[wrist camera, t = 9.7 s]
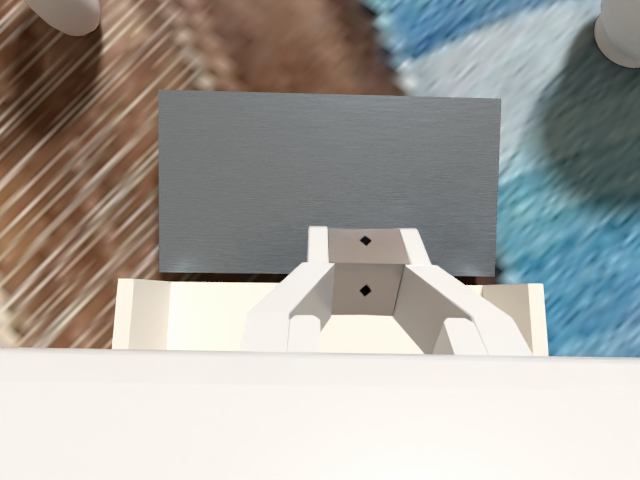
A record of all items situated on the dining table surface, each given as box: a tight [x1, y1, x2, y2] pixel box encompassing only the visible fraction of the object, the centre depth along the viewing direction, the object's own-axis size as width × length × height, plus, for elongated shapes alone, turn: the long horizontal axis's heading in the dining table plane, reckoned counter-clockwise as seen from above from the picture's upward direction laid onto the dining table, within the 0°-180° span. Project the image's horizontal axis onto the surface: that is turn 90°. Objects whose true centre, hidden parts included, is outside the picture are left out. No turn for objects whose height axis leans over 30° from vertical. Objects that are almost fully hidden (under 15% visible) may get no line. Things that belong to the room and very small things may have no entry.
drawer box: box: [112, 279, 548, 356], centre depth 21 cm, size 18×22×7 cm
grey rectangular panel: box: [158, 90, 501, 276], centre depth 24 cm, size 2×22×12 cm
